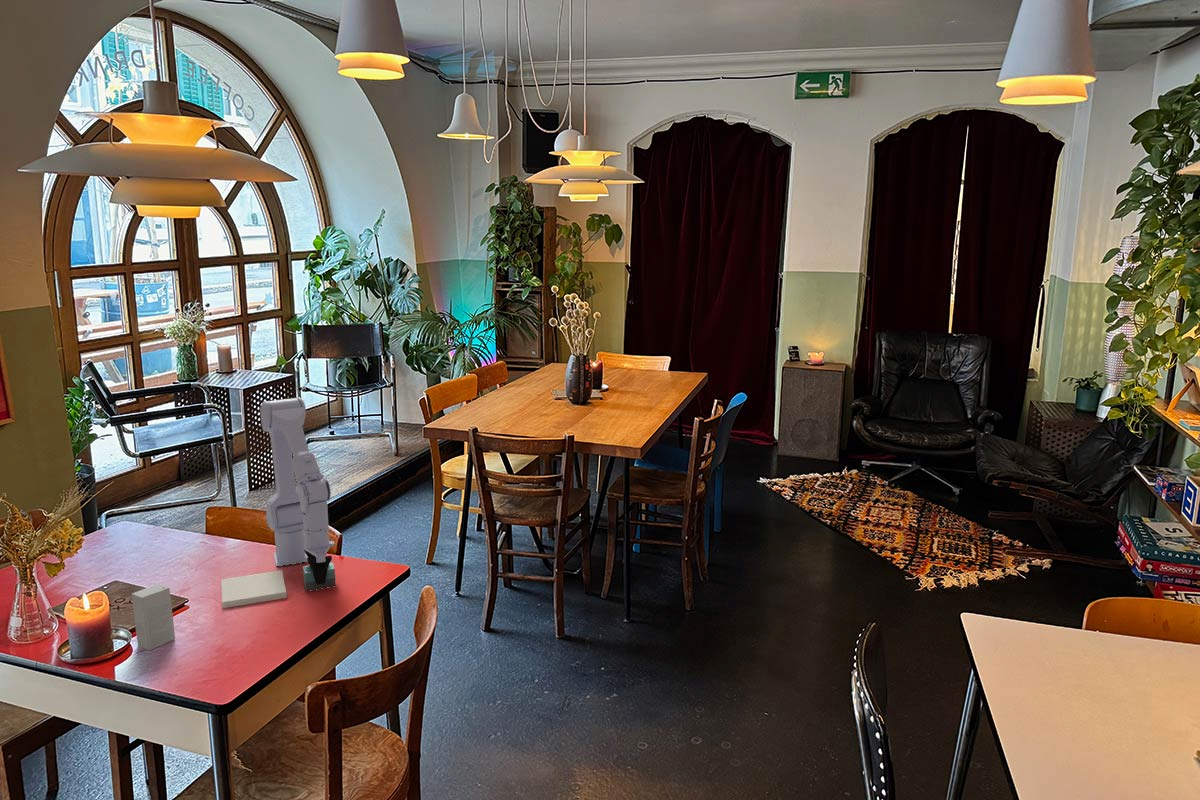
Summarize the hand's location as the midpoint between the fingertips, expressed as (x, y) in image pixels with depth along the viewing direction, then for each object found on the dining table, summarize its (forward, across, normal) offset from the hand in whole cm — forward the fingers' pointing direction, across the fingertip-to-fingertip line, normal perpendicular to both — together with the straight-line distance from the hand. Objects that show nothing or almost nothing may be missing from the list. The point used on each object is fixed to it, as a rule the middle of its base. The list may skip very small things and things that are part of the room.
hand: (319, 579), depth 202 cm
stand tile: (+2, +3, +15) cm, 15 cm away
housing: (+2, 0, 0) cm, 2 cm away
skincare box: (+2, -16, +35) cm, 39 cm away
